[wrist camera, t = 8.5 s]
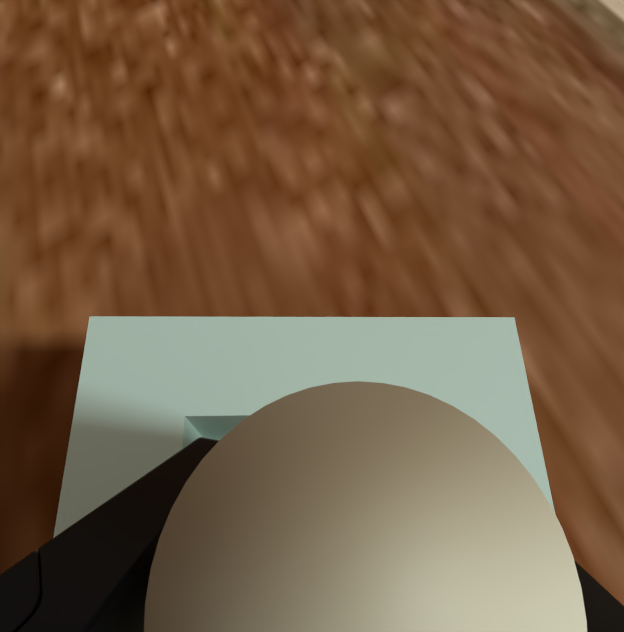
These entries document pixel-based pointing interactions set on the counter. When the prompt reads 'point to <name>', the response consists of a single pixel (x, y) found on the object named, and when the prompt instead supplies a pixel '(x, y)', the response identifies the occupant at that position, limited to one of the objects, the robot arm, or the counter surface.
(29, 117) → the counter surface
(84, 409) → the socket block
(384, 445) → the beech peg
